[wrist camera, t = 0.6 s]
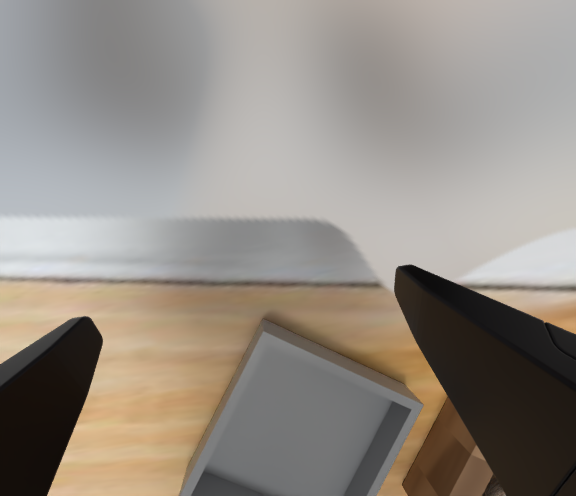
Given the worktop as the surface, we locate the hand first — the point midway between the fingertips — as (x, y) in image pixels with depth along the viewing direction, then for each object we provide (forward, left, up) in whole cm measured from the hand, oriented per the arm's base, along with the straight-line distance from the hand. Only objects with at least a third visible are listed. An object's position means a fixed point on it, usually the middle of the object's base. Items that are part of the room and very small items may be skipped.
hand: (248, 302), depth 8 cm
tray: (-12, +8, -14) cm, 20 cm away
